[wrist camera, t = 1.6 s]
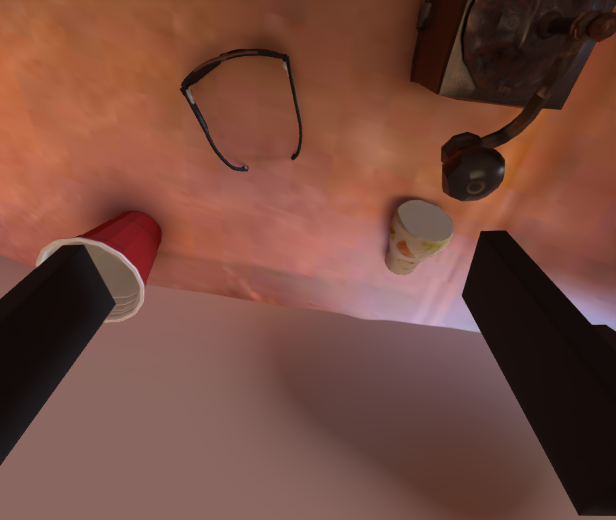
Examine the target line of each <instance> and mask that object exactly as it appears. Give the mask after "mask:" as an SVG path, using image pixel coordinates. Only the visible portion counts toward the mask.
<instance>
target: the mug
mask: <svg viewBox="0 0 616 520" xmlns="http://www.w3.org/2000/svg"><path fill="white" fill-rule="evenodd" d="M453 232H454V226H453V222H452V220H451V219H450V217H449V216H448V215H447V214H446V213H445V212H444V211H443V210H442V209H441V208H439V207H437V206H435V205H433V204H430V203H428V202H425V201H421V200H411V201H407V202H405V203H403V204H402V205H401V206H399V207H398V208H397V210H396V211H395V213H394V214H393V216H392V219H391V222H390V227H389V238H390V249H389V251H388V253H387V255H386V257H385V264H386V266H387V267H388V269H389V270H390V271H391V272H393V273H395V274H398V275H407V274H410V273H411V272H412V271H413V270H414V268H415V267H416V266H417V264H418V263H420V262H422V261H424V260H426V259H428V258H430V257H432V256H434V255H436V254H438V253H439V252H441V251H442V250H443V249H444V248H445V247H446V246H447V244H448V243H449V241H450V240H451V237H452V235H453Z"/></svg>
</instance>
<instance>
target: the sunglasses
mask: <svg viewBox="0 0 616 520" xmlns="http://www.w3.org/2000/svg"><path fill="white" fill-rule="evenodd" d="M242 56H268V57H274V58H279V59H282V60H283V61H284V63H283V68H284V69H286V71H287V74H288V78H289V79H290V84H291V89H292V94H293V99H294V103H295V108H296V113H297V118H298V123H299V134H300V137H299V145H298V149H297V152H296V154H293V155H292V157H291V159H292V160H294V159H296V158H297V156H298V155H299V152H300V149H301V144H302V123H301V118H300V113H299V106H298V100H297V95H296V90H295V85H294V81H293V75H292V70H291V66H290V61H289V56H287V54H281V53H277V52H274V51H269V50H263V49H238V50H233V51H230V52H227V53H223V54H220V56H219V57H216V58H213V59H211V60H209V61H207V62H205V63H203V64H201V65H200V66H198V67H197V68H196V69H194V70H193V71H192V72H191V73H190V74H189V75H188V76H187V77H186V78H185V79H184V81H183V82H182V84H181V86H182V88H180V90H181V92H182V94H183V95H184V96H185V97H186V99H187V101H188V103H189V105H190V107H191V108H192V110H193V112H194V114H195V116H196V118H197V119H198V121H199V123H200V125H201V127H202V129H203V131H204V132H205V134H206V137H207V139H208V141H209V143H210V145H211V147H212V148H213V150H214V151H215V153H216V154H217V155H218V156H219V158H220V159H221V160H222V161H223V162H224V163H225V164H226V165H227V166H229V167H230V168H231V169H233V170H236V171H248V167H246V166H243V167H241V168H240V167H235V166H233V165H231V164H230V163H229V162H228V161H227V160H226V159H225V158H224V157H223V156H222V155H221V154H220V152H219V151H218V149H217V148H216V146H215V145H214V143H213V141H212V139H211V137H210V135H209V131H208V127H207V124H206V122H205V120H204V118H203V116H202V114H201V112H200V111H199V109H198V107H197V105H196V103H195V101H194V99H193V97H192V90H189V89H188V87H189V86H191V85H193V84H195V83H196V82H198V81H199V80H200V79H201V78H203V77H204V76H205V75H206V74H207V73H209V72H210V71H211V70H213V69H214V68H215V67H217V66H218V65H219V64H220V63H221V62H224V61H226V60H229V59H232V58H237V57H242Z"/></svg>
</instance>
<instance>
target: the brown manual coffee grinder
mask: <svg viewBox="0 0 616 520" xmlns="http://www.w3.org/2000/svg"><path fill="white" fill-rule="evenodd" d="M615 5H616V0H425V3H422V5H421V9H420V12H419V16H418V21H417V27H416V28H417V29H418V37H417V42H416V47H415V51H414V56H413V61H412V71H411V82H414V83H419V84H421V85H422V86H424V87H426V88H427V89H429V90H431V91H432V92H434V93H436V94H438V95H442V96H445V97H449V98H453V99H456V100H464V101H471V102H480V103H488V104H497V105H504V106H510V107H517V108H524V109H523V111H522V112H521V114H520V115H518V116H517V117H516V118H515V119H514V120H513V121H512V122H511V123H509V124H508V125H506V126H505V127H503V128H502V129H500V130H498V131H497V132H494V133H492V134H489V135H487V136H484V137H482V138H480V137H479V136H478V135H475V134H472V133H470V132H466V133H462V134H458V135H455V136H453V137H452V138H451V139H450V140H449V141H448V142H446V143H445V144H444V145H443V146H442V148H441V162H443V163H444V164H442V189H443V192H444V193H446V194H447V195H449V196H450V197H453V198H455V199H458V200H460V201H473V200H479V199H481V198H484V197H486V196H488V195H489V194H490V193H491V192H493V191H494V190H495V189H497V188H498V187H499V185H500V184H501V182H502V181H503V178H504V170H505V159H504V158H503V157H502V155H501V154H500V153H499V152H498V151H497V150H495V149H493V148H495V147H498V146H500V145H502V144H504V143H506V142H508V141H509V140H511V139H512V138H514V137H515V136H517V135H518V134H520V133H521V132H522V131H523V130H524V129H525V128H526V127H527V126H528V125H529V124H530V123H531V122H532V121H533V120H534V119H535V118H536V116H537V115H538V114H539V112H540V111H541V109H559V110H561V109H562V107H563V105H564V103H565V101H566V99H567V98H568V96H569V94H570V92H571V90H572V88H573V86H574V84H575V82H576V80H577V78H578V76H579V74H580V73H581V71H582V69H583V67H584V65H585V63H586V61H587V59H588V57H589V55H590V53H591V51H592V49H593V47H594V46H595V44H596V42H601V41H603V40H605V39H607V38H608V37H610V36H612V35H613V34H614V33H615V32H616V13H614V12H612V11H613V9H614V7H615Z"/></svg>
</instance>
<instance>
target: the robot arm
mask: <svg viewBox="0 0 616 520" xmlns="http://www.w3.org/2000/svg"><path fill="white" fill-rule="evenodd" d="M462 297H463V299H464V301H465V303H466V305H467V307H468V308H469V310H470V312H471V314H472V316H473V318H474V320H475V322H476V323H477V325H478V327H479V329H480V331H481V333H482V335H483V337H484V338H485V340H486V342H487V344H488V346H489V348H490V350H491V352H492V353H493V355H494V357H495V359H496V361H497V363H498V365H499V366H500V368H501V370H502V372H503V374H504V376H505V378H506V380H507V382H508V383H509V385H510V387H511V389H512V391H513V393H514V395H515V397H516V399H517V400H518V402H519V404H520V406H521V408H522V410H523V412H524V413H525V415H526V417H527V419H528V421H529V423H530V425H531V426H532V429H533V430H534V432H535V434H536V436H537V438H538V439H539V442H540V443H541V445H542V447H543V449H544V451H545V453H546V455H547V457H548V459H549V460H550V462H551V464H552V466H553V468H554V470H555V472H556V474H557V475H558V477H559V479H560V481H561V483H562V485H563V487H564V489H565V491H566V492H567V494H568V496H569V498H570V500H571V502H572V504H573V506H574V507H575V509H576V511H577V513H578V515H579V516H580V515H581V516H585V515H586V516H616V331H614V330H613V329H611V328H610V327H608V326H607V325H592V324H591V323H590V322H589V321H588V320H587V319H586V318H585V317H584V316H583V315H582V313H581V312H580V311H579V310H578V309H577V308H576V307H575V306H574V305H573V304H572V303H571V301H570V300H569V299H568V298H567V297H566V296H565V295H564V294H563V293H562V292H561V290H560V289H559V288H558V287H557V286H556V285H555V284H554V283H553V282H552V281H551V280H550V278H549V277H548V276H547V275H546V274H545V273H544V272H543V271H542V270H541V269H540V268H539V266H538V265H537V264H536V263H535V262H534V261H533V260H532V259H531V258H530V257H529V256H528V254H527V253H526V252H525V251H524V250H523V249H522V248H521V247H520V246H519V245H518V243H517V242H516V241H515V240H514V239H513V238H512V237H511V236H510V235H509V234H508V233H507V231H506V230H503V231H481V233H480V236H479V239H478V243H477V246H476V249H475V253H474V256H473V259H472V263H471V266H470V270H469V273H468V276H467V280H466V283H465V286H464V290H463V293H462ZM115 305H116V302H115V301H114V299H113V297H112V295H111V293H110V291H109V290H108V288H107V286H106V284H105V282H104V280H103V278H102V277H101V275H100V273H99V271H98V269H97V267H96V265H95V264H94V262H93V260H92V258H91V256H90V254H89V253H88V251H87V249H86V247H85V245H84V244H83V245H62V246H61V247H60V248H59V249H57V250H56V251H55V252H54V253H53V254H52V255H50V256H49V257H48V258H47V259H46V260H45V261H44V262H42V263H41V264H40V265H39V266H38V267H37V268H36V269H34V270H33V271H32V272H31V273H30V274H29V275H28V276H26V277H25V278H24V279H23V280H22V281H21V282H19V283H18V284H17V285H16V286H15V287H14V288H12V289H11V290H10V291H9V292H8V293H7V294H6V295H4V296H3V297H2V298H1V299H0V465H1V464H2V462H3V461H4V460H5V458H6V456H8V454H9V453H10V451H11V450H12V449H13V447H14V446H15V444H16V443H17V442H18V440H19V439H20V437H21V436H22V435H23V433H24V432H25V430H26V429H27V428H28V426H29V425H30V423H31V422H32V421H33V419H34V418H35V416H36V415H37V414H38V412H39V411H40V409H41V408H42V407H43V405H44V404H45V403H46V401H47V400H48V398H49V397H50V396H51V394H52V393H53V391H54V390H55V389H56V387H57V386H58V384H59V383H60V382H61V380H62V379H63V377H64V376H65V375H66V373H67V372H68V371H69V369H70V368H71V366H72V365H73V363H74V362H75V361H76V359H77V358H78V357H79V355H80V354H81V352H82V351H83V350H84V348H85V347H86V346H87V344H88V343H89V341H90V340H91V339H92V337H93V336H94V334H95V333H96V331H97V330H98V329H99V327H100V326H101V325H102V323H103V322H104V320H105V319H106V318H107V316H108V315H109V313H110V312H111V311H112V309H113V308H114V307H115Z"/></svg>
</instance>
